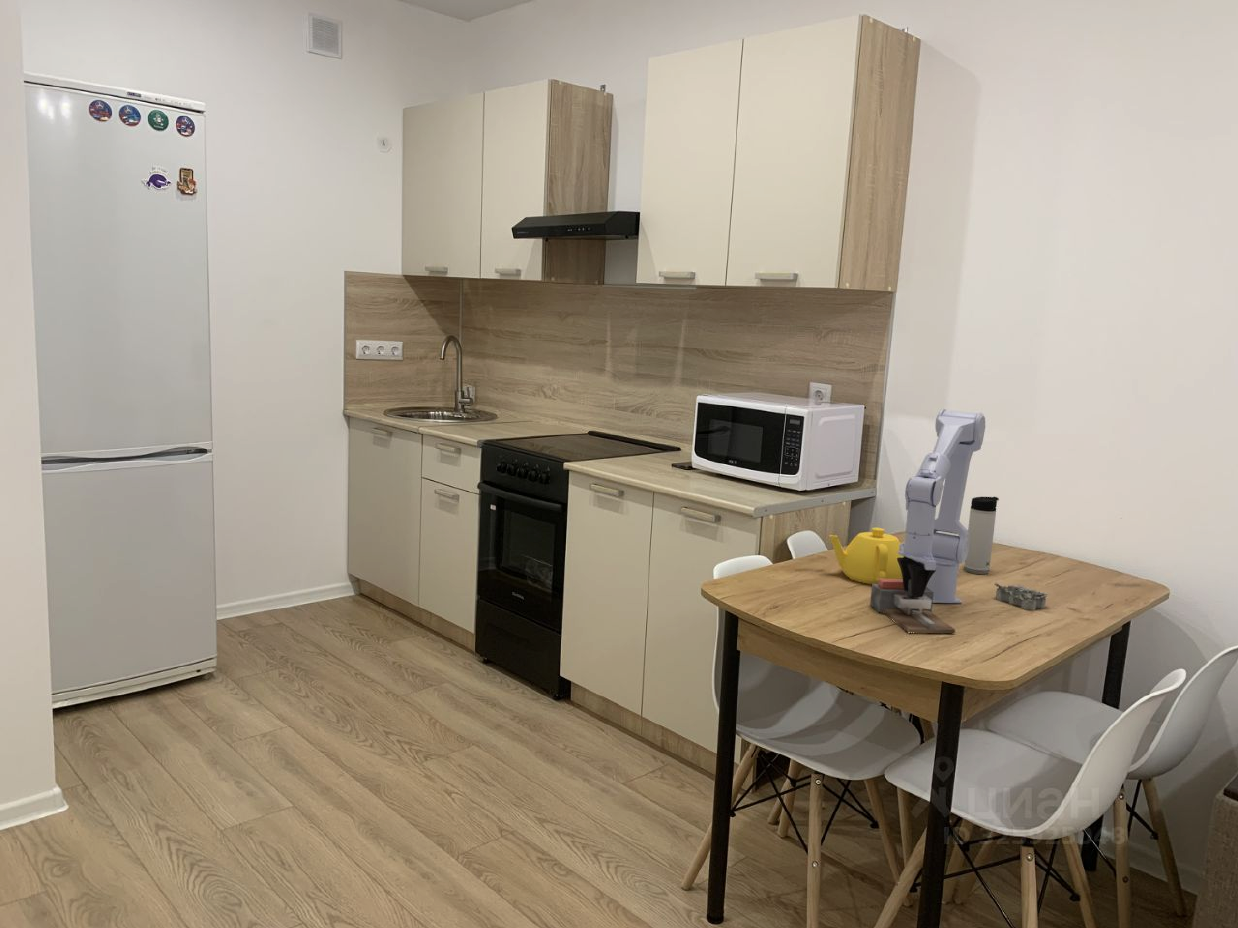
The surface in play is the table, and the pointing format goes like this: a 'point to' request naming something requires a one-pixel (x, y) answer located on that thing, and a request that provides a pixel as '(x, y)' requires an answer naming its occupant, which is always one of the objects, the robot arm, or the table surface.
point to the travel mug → (981, 534)
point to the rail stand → (912, 621)
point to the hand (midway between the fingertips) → (913, 593)
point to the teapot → (869, 556)
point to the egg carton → (1021, 596)
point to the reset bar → (891, 583)
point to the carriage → (911, 601)
